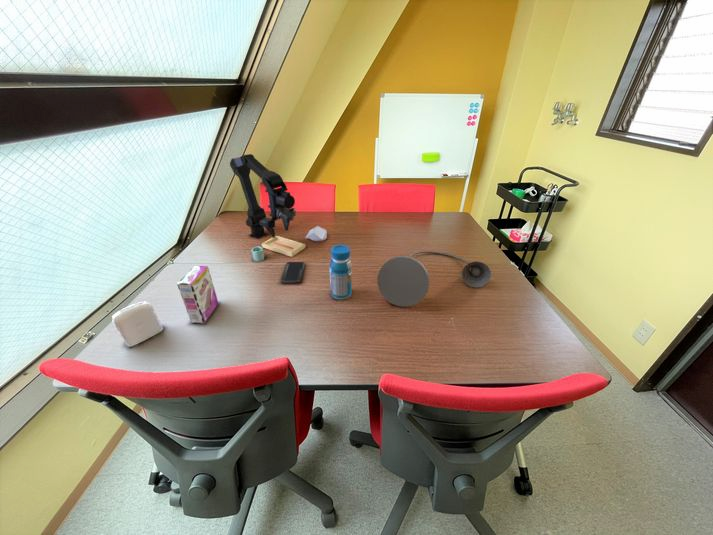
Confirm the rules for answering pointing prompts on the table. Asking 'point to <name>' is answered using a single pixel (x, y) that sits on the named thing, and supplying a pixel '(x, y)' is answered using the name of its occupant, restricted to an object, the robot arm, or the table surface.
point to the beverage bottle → (340, 272)
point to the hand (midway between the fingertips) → (280, 233)
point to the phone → (293, 272)
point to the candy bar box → (198, 294)
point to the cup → (258, 253)
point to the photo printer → (137, 323)
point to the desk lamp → (420, 278)
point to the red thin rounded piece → (284, 245)
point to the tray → (281, 249)
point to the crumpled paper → (317, 234)
